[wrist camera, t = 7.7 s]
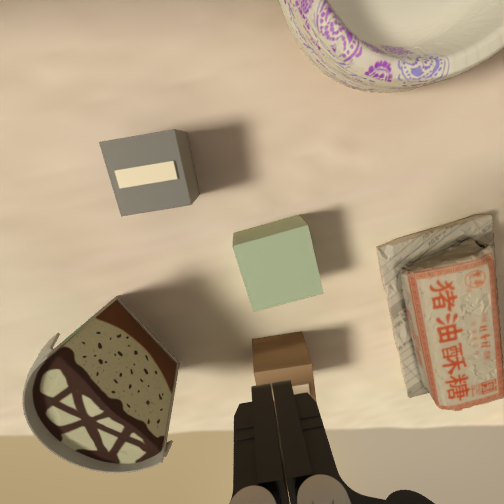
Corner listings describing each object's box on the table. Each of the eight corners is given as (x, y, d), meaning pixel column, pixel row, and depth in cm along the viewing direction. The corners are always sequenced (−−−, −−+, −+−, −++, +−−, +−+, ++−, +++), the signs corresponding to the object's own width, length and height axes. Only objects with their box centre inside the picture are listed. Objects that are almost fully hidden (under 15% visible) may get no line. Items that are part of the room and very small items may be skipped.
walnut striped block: (252, 338, 32) (254, 373, 27) (301, 331, 31) (312, 365, 27) (259, 378, 33) (262, 418, 28) (306, 371, 33) (317, 410, 28)
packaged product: (533, 399, 29) (428, 427, 30) (494, 365, 34) (403, 390, 35) (525, 222, 24) (395, 262, 25) (479, 209, 28) (371, 244, 29)
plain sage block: (233, 232, 28) (232, 246, 24) (298, 214, 28) (308, 225, 24) (251, 290, 30) (253, 312, 26) (313, 274, 30) (323, 293, 26)
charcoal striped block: (125, 142, 25) (98, 142, 20) (186, 132, 25) (173, 129, 20) (142, 203, 27) (120, 216, 22) (200, 194, 27) (190, 205, 22)
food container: (57, 317, 30) (-28, 397, 20) (105, 284, 29) (40, 351, 20) (142, 400, 33) (104, 501, 24) (188, 373, 32) (167, 466, 23)
